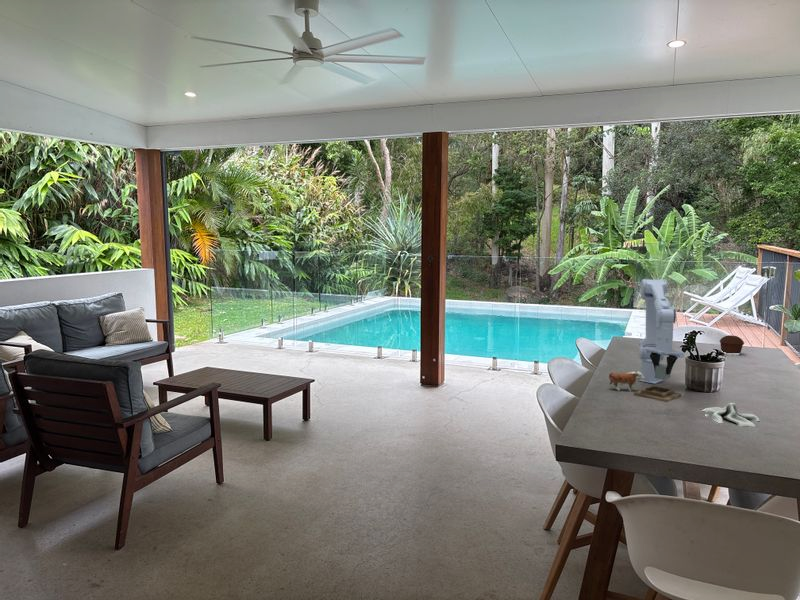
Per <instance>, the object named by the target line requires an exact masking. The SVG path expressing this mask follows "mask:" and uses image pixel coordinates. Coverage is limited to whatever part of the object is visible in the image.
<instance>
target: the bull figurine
mask: <svg viewBox="0 0 800 600" xmlns="http://www.w3.org/2000/svg"><path fill="white" fill-rule="evenodd" d="M608 378H609V380H610V382H609V385H610V389H611V390H614V389H616V391H619V392H621V389H620V388H619V386H618V385H619V384H620V386H623V385H626V384H627V385H628V388H627V389H628V390H627V391H629V392H632V391H634V388H633V386H634V385H635V384H636V383H637V382H639V381H638V380H641V379H644V377H643V375H642V373H641V370H638V371H637V372H636V371H631V372H610V373H609V375H608Z"/></svg>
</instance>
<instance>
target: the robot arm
mask: <svg viewBox="0 0 800 600" xmlns="http://www.w3.org/2000/svg"><path fill="white" fill-rule="evenodd" d="M668 287H669V285H668V281H667V279H665V278H664V279H650V278H649V279H646V278H643V279H642V280H641V282H640V298H641V299H642V300H644V304H645V338H643V339H641V340H640V341H639V342H638V347H637V355H638V356H637V357H638V358H639V360H641V363H640V364H641V365H640V373H642V375H643V377H644V379H641V380H638V381H637V382H643V383H648V384H654V385H655V384H658V383H661V382H663V381H664V380H662V379H657V378H655V368H656V365H659V364H662V361H663V360H664V359H665V356H667V357H666V365H667V374H668V375H669V374H670V375H671V373H672V370H673V367H674V366H675V365H674V364H675V363H676V361H677V360H678V358H679V359H683V358H684V357H685V351H683V352H682V351H678V350H673V340H674V324H676V320H677V312H676V309H675V308H674V307H672V304H671V302H670V300H669V299H668V298H667V297H666V294H667V293H668Z"/></svg>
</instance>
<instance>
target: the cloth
mask: <svg viewBox="0 0 800 600" xmlns="http://www.w3.org/2000/svg"><path fill="white" fill-rule="evenodd" d="M702 411H705V412H704V413H705V414H704V415H705V416H706V417H707V416H709V415H710V413H712V414H711V415H712V416H711V418H712V419H713V420H714V421H716V422H718V423H723V424H724V421H727V420H728V421H727V422H730V421H732V422H731V423H733V422H734V423H733V424H735V423H736V424H735V425H737V424H738V425H739V426H738V425H737V426H738V427H741V426H749V427H748V428H756V427H755V426H757V425H755V423H754V422H755V421H760V418H759V417H758V416H757V415H755V414H753V413H739V411H738V407H737V403H735V402H729V403H727V404H726V405H725V406H724V407H719V406H714V407H706V408H704V409H702V410H701V412H702ZM707 412H709V413H707ZM707 418H708V417H707ZM712 419H711V420H712ZM723 419H724V420H723ZM713 420H712V421H713ZM751 420H754V421H751ZM714 421H713V422H714ZM716 422H715V423H716ZM718 423H717V424H718Z"/></svg>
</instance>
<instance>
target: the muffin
mask: <svg viewBox="0 0 800 600" xmlns="http://www.w3.org/2000/svg"><path fill="white" fill-rule="evenodd" d="M719 343H720V350H722V351H723V352H726V353H740V352H741V353H742V349H743V346H744V345H745V342H744V340H743V338H741V337H739V336H737V335H732V334H731V335H725V336H723V337H721V338H720V339H719Z"/></svg>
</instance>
